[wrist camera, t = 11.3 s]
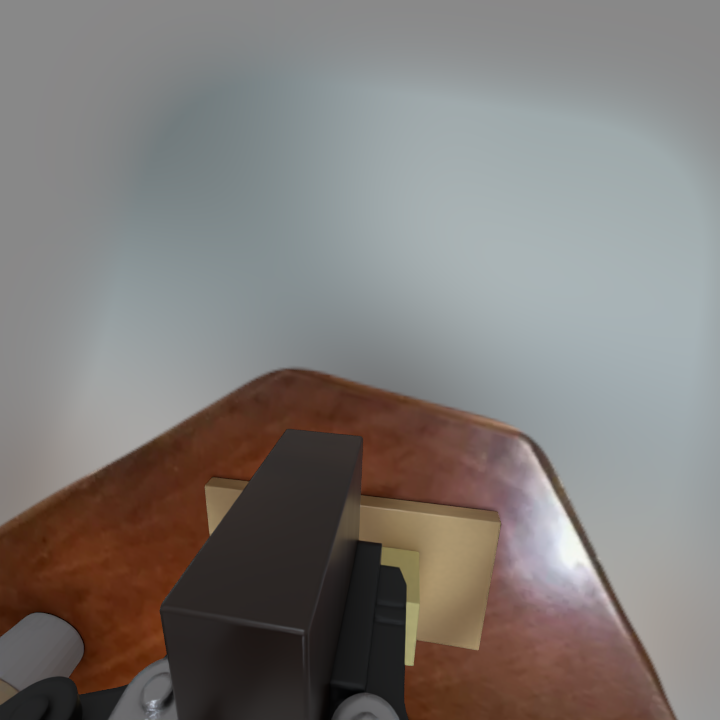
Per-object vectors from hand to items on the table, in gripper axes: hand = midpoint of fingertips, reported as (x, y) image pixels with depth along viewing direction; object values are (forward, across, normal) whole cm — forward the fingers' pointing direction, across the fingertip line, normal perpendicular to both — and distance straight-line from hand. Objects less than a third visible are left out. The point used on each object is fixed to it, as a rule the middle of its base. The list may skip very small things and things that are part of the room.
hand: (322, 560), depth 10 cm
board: (+11, +1, +11) cm, 16 cm away
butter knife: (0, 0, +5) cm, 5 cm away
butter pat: (+10, -2, +11) cm, 15 cm away
